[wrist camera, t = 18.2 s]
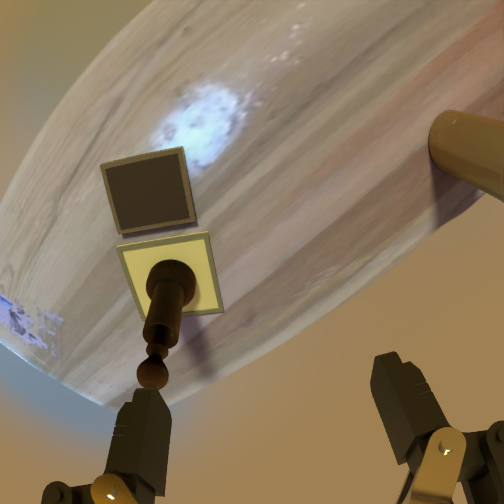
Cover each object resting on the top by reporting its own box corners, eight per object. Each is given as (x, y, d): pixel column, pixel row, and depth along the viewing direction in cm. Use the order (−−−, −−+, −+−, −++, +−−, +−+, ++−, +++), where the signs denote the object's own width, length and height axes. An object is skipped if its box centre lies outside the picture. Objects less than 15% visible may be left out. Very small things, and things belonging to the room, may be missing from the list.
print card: (207, 231, 39) (207, 232, 39) (223, 309, 45) (223, 311, 45) (117, 245, 39) (116, 247, 38) (143, 318, 45) (142, 321, 44)
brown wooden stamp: (183, 307, 44) (170, 413, 28) (141, 288, 42) (109, 391, 26) (204, 271, 41) (197, 378, 26) (159, 250, 40) (126, 351, 24)
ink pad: (182, 146, 34) (181, 147, 33) (196, 218, 38) (195, 222, 37) (102, 163, 34) (99, 165, 33) (120, 231, 38) (118, 235, 37)
